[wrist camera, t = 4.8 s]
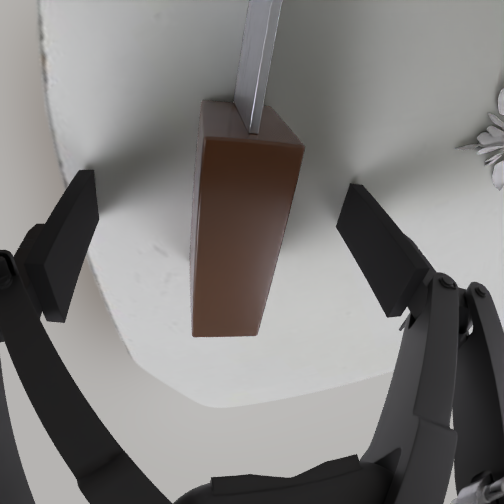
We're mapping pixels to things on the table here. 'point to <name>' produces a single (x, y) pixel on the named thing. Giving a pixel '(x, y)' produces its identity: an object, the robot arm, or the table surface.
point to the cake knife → (241, 192)
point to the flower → (493, 144)
